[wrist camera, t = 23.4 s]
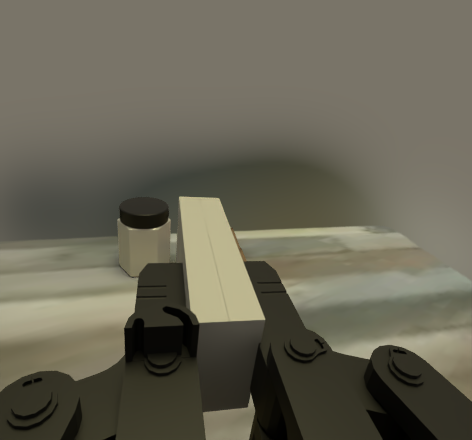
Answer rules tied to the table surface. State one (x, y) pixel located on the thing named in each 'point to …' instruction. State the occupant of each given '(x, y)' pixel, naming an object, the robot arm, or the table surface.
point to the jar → (143, 234)
